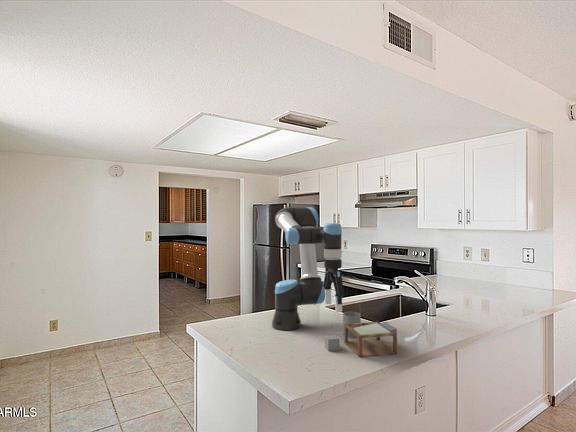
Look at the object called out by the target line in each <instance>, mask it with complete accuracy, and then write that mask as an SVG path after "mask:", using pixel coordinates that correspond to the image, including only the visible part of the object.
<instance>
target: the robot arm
mask: <svg viewBox="0 0 576 432" xmlns="http://www.w3.org/2000/svg"><path fill="white" fill-rule="evenodd" d="M274 222H275V225H276V226H277V227H278V228H279V229H282V230H283V232H284V234H285V235H284V236H285V237H284V238H285V242H286V244H287V245H295V246H296V245H298V246H299V257H300V267H301V277H300V278H299V281H298V280H296V279H286V280H281V281H278V282H277V283H276V284H275V288H274V294H275V295H274V296H275V297H274V298H275V299H274V304H275V305H274V306H275V308H274V314H273V317H272V321H271V327H272V329H275V330H279V331H294V330H298V329H300V328H301V327H302V321H301V317H300V315H299V312H298V311H299V310H298V309H299V308H298V306H304V305H305V306H307V305H318V304H319V305H320V304H323V303H324V305H332V285H333V288H334V292H335V294H334V298H335V303H334V304H335V309H334V310H335V313H341V312H342V313H343V297H344V296H345V295H346V294H345V290H344V289H345V287H344V284H343V277H342V271H339V269H341V268H342V267H343V266H342V265H343V264H342V263H343V261H342V255H343V254H342V253H343V250H342V234H343V233H342V225H341V223H339V222H336V223H335V222H333V223H332V222H331V223H329V222H328V223H324V224H323V226H320V227H318V226H319V214H318V211H317V210H316V209H315V208H314V207H308V206H301V207H299V206H287V207H284V208H281V209H280V210H279V211H277V213H276V214H275V217H274ZM316 245H323V258H324V261H323V263H324V265H323V266H324V268H325V269H324V271H325V273H324V278H323V280H322V277H321V276H320V275H319V273H318V262H317V261H318V260H317V254H316Z"/></svg>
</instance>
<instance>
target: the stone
mask: <svg viewBox="0 0 576 432" xmlns="http://www.w3.org/2000/svg"><path fill="white" fill-rule="evenodd" d="M340 340H341V338H339V336H337V334H332V335H330V334H328V335H324V348H325V349H326V350H327V351H328V352H336V351H340V350H341V349H340V345H341V344H340V342H341V341H340Z"/></svg>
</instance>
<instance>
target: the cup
mask: <svg viewBox="0 0 576 432" xmlns="http://www.w3.org/2000/svg"><path fill="white" fill-rule="evenodd" d="M351 323H362V321H361V313H360V312H357V311H344V312H342V335H343V337H345V324H351ZM355 327H360V326H352V328H355ZM355 337H356V338H358V337H357V336H356V335H354V334H353V333H352V332H351V331H350V330H349V329H348V338H351V339H354V338H355ZM356 338H355V339H356Z"/></svg>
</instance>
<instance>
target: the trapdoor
mask: <svg viewBox="0 0 576 432" xmlns="http://www.w3.org/2000/svg"><path fill="white" fill-rule="evenodd" d="M353 329H354V330H355V331H357V332H358V333H359V334H360V335H366V334H379V333H392V332H396V333H398V330H397V328H396V327H394V326H393V325H391V324H390V323H388V322H387V321H382V322H380V323H379V324H378V323H374V324H369V325H364V326H360V327H355V328H353ZM376 338H377V337H373V338H362V341H363V340H370V339H376Z"/></svg>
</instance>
